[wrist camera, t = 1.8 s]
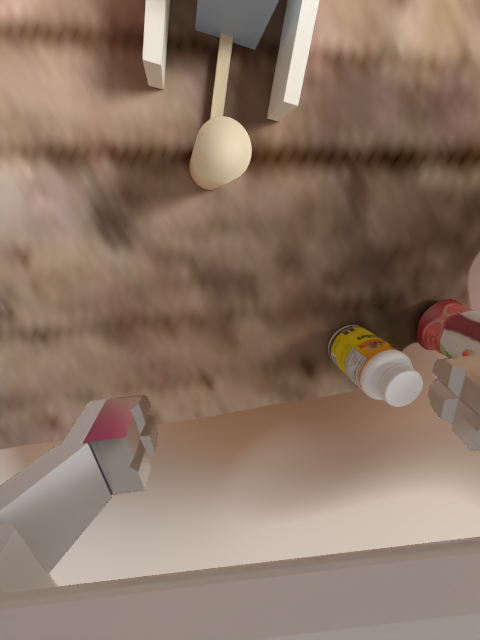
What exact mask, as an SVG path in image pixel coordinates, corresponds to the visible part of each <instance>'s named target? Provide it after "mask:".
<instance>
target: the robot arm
mask: <svg viewBox="0 0 480 640" xmlns="http://www.w3.org/2000/svg"><path fill="white" fill-rule="evenodd" d="M432 373H433V374H434V375H435V377H436V379H435V380H434V381H433V382H432V383H431V384H430V386H429V393H428V396H429V400H430V404H431V406H432V408H433V410H434V411H435V413H436V414H437V415H438V416H439V417H440V418H441V419H443V420H445V421H447V422H449V423H451V424H452V431H453V432H454V433H455V434H456V435H457V437H458V438H459V439H460V440H461V441H462V442H463V443H464V444H465V445H466V446H467V447H468V448H469V449H470V450H471V451H477V450H480V354H474V355H470V356H462V357H454V358H446V359H438V360H437V361H436V362H435V364H434V366H433V370H432ZM150 407H151V405H150V402H149V400H148V397H147V396H145V395H138V396H128V397H118V398H110V399H100V400H92V401H90V402H88V403H87V405H86V406H85V408H84V409H83V411H82V413H81V414H80V416H79V417H78V419H77V420H76V422H75V424H74V425H73V427H72V428H71V430H70V431H69V433H68V434H67V436H66V438H65V439H64V441H63V442H62V444H61V445H60V446H59V447H53V448H52V449H51V450H49V451H48V452H47V453H45V454H44V455H42V456H41V457H40V458H38V459H37V460H35V461H34V462H32V463H31V464H30V465H28V466H27V467H25V468H24V469H23V470H21V471H20V472H19V473H17V474H16V475H14V476H13V477H12V478H10V479H9V480H7V481H6V482H5V483H3V484H2V485H0V640H480V537H474V538H465V539H457V540H448V541H440V542H431V543H423V544H414V545H406V546H398V547H389V548H380V549H372V550H364V551H355V552H347V553H338V554H329V555H321V556H313V557H304V558H296V559H288V560H279V561H270V562H262V563H254V564H245V565H236V566H228V567H219V568H211V569H203V570H194V571H186V572H178V573H169V574H160V575H152V576H143V577H135V578H128V579H118V580H111V581H101V582H93V583H84V584H76V585H68V586H59V587H58V586H57V584H56V583H55V582H54V580H53V579H52V577H51V576H50V575H49V573H50V571H51V570H52V569H53V568H54V566H55V565H56V564H57V563H58V562H59V561H60V559H61V558H62V557H63V556H64V555H65V553H66V552H67V551H68V550H69V549H70V547H71V546H72V545H73V544H74V542H75V541H76V540H77V539H78V538H79V536H80V535H81V534H82V532H84V530H85V529H86V528H87V527H88V526H89V524H90V523H91V522H92V521H93V520H94V518H95V517H96V516H97V515H98V513H99V512H100V511H101V510H102V509H103V507H104V506H105V505H106V504H107V503H108V501H109V500H110V499H111V498H112V496H111V495H116V494H123V493H130V492H136V491H143V490H145V489H146V485H147V481H148V477H149V474H150V470H151V465H150V462H149V458H151V456H152V455H153V454H154V453H155V450H156V446H157V435H158V433H157V425H156V421H155V418H153V417H152V416H151V415H149V411H150Z"/></svg>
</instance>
